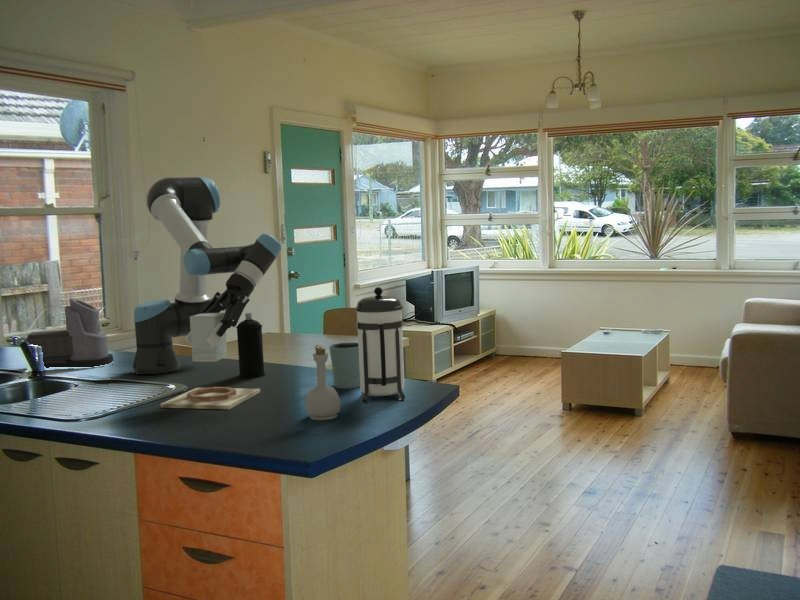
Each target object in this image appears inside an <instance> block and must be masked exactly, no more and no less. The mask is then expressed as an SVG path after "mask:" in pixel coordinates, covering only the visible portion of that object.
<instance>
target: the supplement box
mask: <svg viewBox="0 0 800 600" xmlns="http://www.w3.org/2000/svg"><path fill="white" fill-rule="evenodd" d="M224 314H225V312H219V313H201V314H198V315H194V316H190V330H191V344H190V345H191V359H192V360H191V361H192V362H198V363H199V362H202V363H204V362H205V363H207V362H209V363H210V362H211V363H212V362H213V363H214V362H218V361H220V360H222V359H224V358H227V357H228V353H227V348H228V347H227V334H226V332H225V333H224V334H223V336H222V337H221V339H220V340H219V341H218V343H217V344H216V346H215V347H214V348H212V347H211V346H210V345H209V344H208V343H206V341H207V339H208V338H209V336H210V335H211V334H212V332H213V331H214V329H215V328H216V327H217V325H218V324H219V323H222V322H221V321H220V320H222V319H223V317H224ZM222 324H223V323H222Z"/></svg>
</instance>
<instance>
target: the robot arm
mask: <svg viewBox="0 0 800 600" xmlns="http://www.w3.org/2000/svg"><path fill="white" fill-rule="evenodd" d="M146 207H147V209H148V211H149V213H150V214H151V216H152V217H153V218H154V219H155V220H156V221H158V222H161V224H162V225H163V227H164V228H165V229H166V231H167V232H168V233H169V235H170V236H171V237H172V239H173V240H174V241H175V243H176V244H177V245H178V247H179V248H180V259H179V264H180V265H179V291H178V292H177V293H176V294H175V295H174V302H171V301H170V300H169V299H165V298H164V299H159V300H156V299H155V300H151V301H147V302H143V303H139V304H138V305H137V306H136V307H135V308H134V310H133V311H134V314H133V316H134V317H133V322H134V331H135V343H136V345H135V346H136V352H135V355H134V359H133V361H132V362H133V364H132V373H133V372H134V373H138V374H155V375H160V374H159V373H164V374H169V373H168V372H170V373H174V372H176V371H179V370H180V367H181V366H180V361H179V359H178V356H177V353H176V351H175V349H174V344H173V338H178V337H179V338H180V337H185V340H186V341H187V342H188V343H189V344H190V345H191V330H190V316H194V315H198V314H201V313H221V312H222V311H223V312H224V313H225V314H224V317H223V319H222V320H220V321H221V322H222V323H223V324H222V323H219V324H218V325H217V327H216V328H215V329H214V331H213V332H212V334H211V335H210V336H209V338H208V339H207V341H206V343H208V344H209V345H210V346H211V347H212V348H214V347H215V346H216V344H217V343H218V341H219V340H220V339H221V337H222V336H223V334H224V333H225V332H226V331H228V329H230V328H231V327H232V328H234V327H235V328H236V327H237V325H238V322H239V320H240V318H241V316H242V315H243V312H244V309H245V308H246V306H247V304H248V303H249V302H250V298H249V297H250V296H251V294H252V293H253V291H254V290H255V288H256V287H257V286H258V284H260V281H261V279H262V278H263V277H264V275H265V274H266V273H267V272H268V270H269V269H270V267H271V266H272V264H273V263H274V262H275V261H276V259H277V258H278V257H279V254H280V252H281V251H282V244H281V243H280V241H279V240H278V239H277V238H276V237H275V236H273V235H271V234H269V233H262V234H260V235H259V236H258V237H257V238H256V239H255V241H254V243H251V244H247V245H244V246H243V245H242V246H241V245H240V246H229V247H213V246H212V245H211V244H210V243H209V242H208V228H209V226H208V225H209V223H210V222H211V221H213V215H214V214H215V213H217V212H218V211H219V210H220V207H221V196H220V191H219V188H218V186H217V185H216V183H215V182H214V180H212V179H210V178H209V177H200V176H192V177H191V176H190V177H183V176H182V177H164V178H161V179H159V180H157V181H156V182H155V183H154V184H152V186H151V187H150V189H149V190H148V192H147V195H146ZM229 273H231V275H230V276H229V277H228V279H227V280H226V282H225V286H226V290H224V291H223V292H222V293H220V291H217V292H215V294H214V295H213V297H212V298H211V296H210V295H209V294H208V293H207V292H206V291H207V289H206V285H207V275H216V274H217V275H218V274H229ZM173 371H174V372H173ZM134 373H133V374H134Z"/></svg>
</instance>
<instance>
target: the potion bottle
mask: <svg viewBox="0 0 800 600" xmlns="http://www.w3.org/2000/svg"><path fill="white" fill-rule="evenodd" d="M314 348H315V349H314V350H315V352H314V353H313V354H312V357H313V361H314V362H315V363H316V379H317V380H316V381H317V382H316V383H317V386H316V387H313V388H311V389H310V390H309V391H308V394H307V395H306V397H305V403H304V406H305V410H306V414H308V415H309V419H310V420H314V421H328V420H333V419H335V418H337V417H338V414H337V413H340V409H341V404H342V402H341V399H340V396H339V394H338V392H337V391H336V389H335V387H332V386H328V385H327V375H326V374H327V373H326V362H327V361H328V358H329V353H328V352H326V348H327V347H326V346H323V345H322V344H314Z"/></svg>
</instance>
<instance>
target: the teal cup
mask: <svg viewBox="0 0 800 600" xmlns="http://www.w3.org/2000/svg"><path fill="white" fill-rule="evenodd" d="M329 354H330V355H329V356H330V359H331V367H332V368H331V369H332V374H333V375H332V376H333V386H334V388H338V389H356V388H360V370H359V348H358V342H340V343H333V344H330V345H329Z"/></svg>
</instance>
